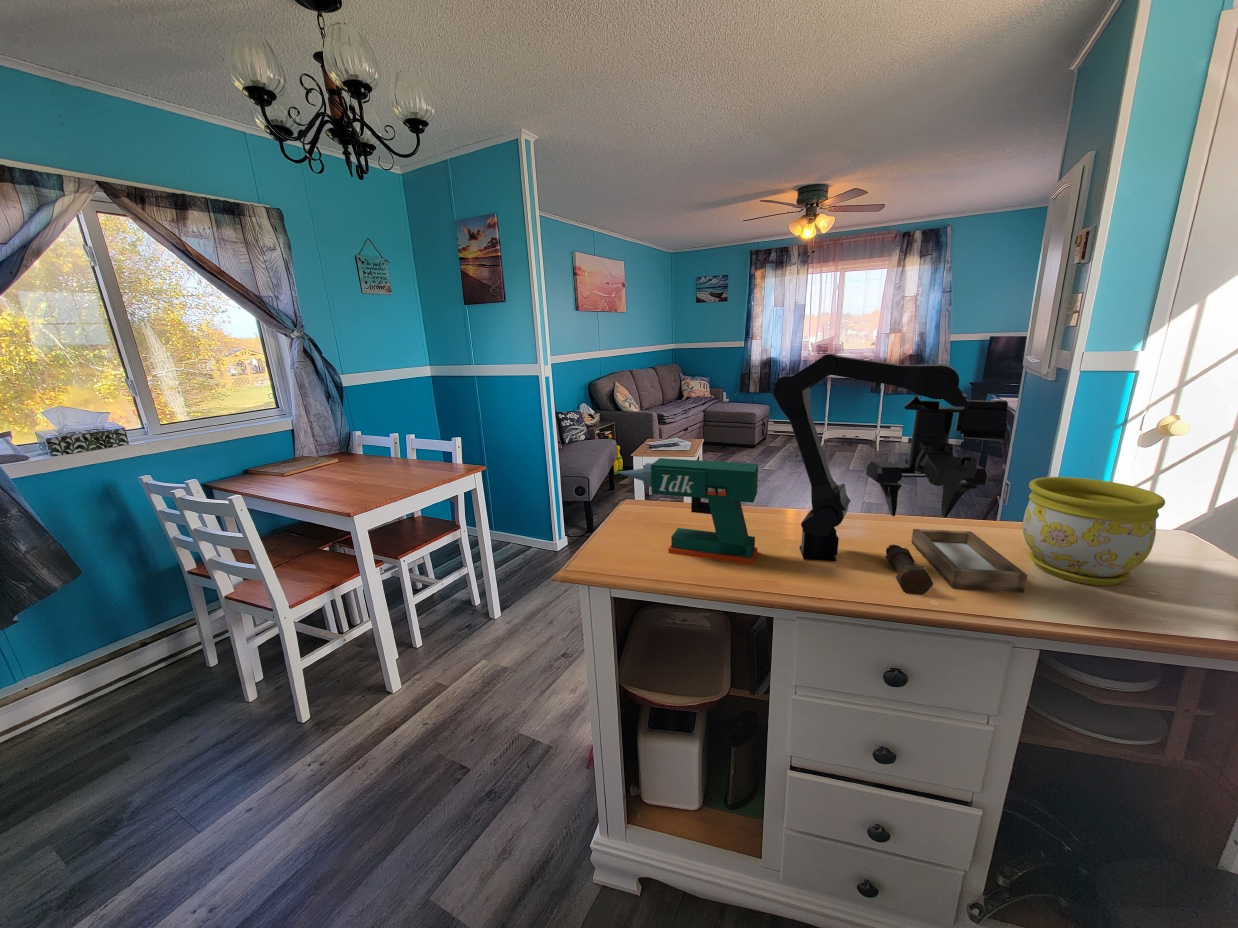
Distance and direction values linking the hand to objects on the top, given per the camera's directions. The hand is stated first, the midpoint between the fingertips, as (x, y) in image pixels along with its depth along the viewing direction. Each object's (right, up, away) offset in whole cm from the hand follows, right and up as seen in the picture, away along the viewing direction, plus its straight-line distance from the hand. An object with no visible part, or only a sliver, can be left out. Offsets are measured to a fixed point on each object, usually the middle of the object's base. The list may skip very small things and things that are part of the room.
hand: (918, 516), depth 90 cm
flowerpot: (+32, -11, +2) cm, 34 cm away
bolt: (-1, -12, +2) cm, 13 cm away
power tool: (-42, -10, +17) cm, 47 cm away
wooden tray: (+12, -11, +5) cm, 17 cm away
